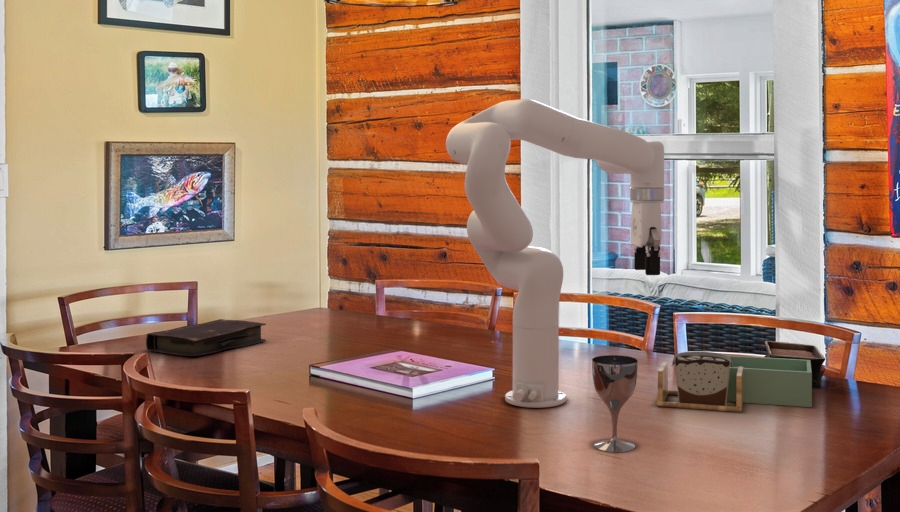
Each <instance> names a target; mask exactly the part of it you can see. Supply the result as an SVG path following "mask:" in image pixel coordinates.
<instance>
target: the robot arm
mask: <svg viewBox="0 0 900 512" xmlns="http://www.w3.org/2000/svg"><path fill="white" fill-rule="evenodd" d="M511 141H524V142H527V143H530V144H532V145H534V146H538V147H540V148H543V149H546V150H549V151H551V152H554V153H556V154H559V155H561V156H565V157H569V158H574V159H583V160H595V163H596V166H598V168H599V169H600V170H602V171H603V172H605V173H608V174H613V175H614V174H616V175H619V174H620V175H624V174H626V175H629V178H630V179H629V183H630V184H629V202H630V203H632V207H631V218H630V243H631V245H633V246H634V252H633V253H634V255H633V257H634V259H633V260H634V264H633V265H634V270H635V271H644V273H645V275H646V276H660V275H661V245H662V239H663V238H662V234H663V231H662V228H663V227H662V226H663V225H662V207H661V204H663V203H665V146H664V144H663V143H662V142H661V141H659V140H646V139H644V138H642V137H640V136H637V135H635V134H632V133H631V132H630V133H629V132H627V131H625V130H623V129H619V128H615V127H612V126H608V125H604V124H600V123H597V122H594V121H591V120H587V119H583V118H579V117H577V116H574V115H571V114H569V113H567V112H564V111H563V110H559V109H557V108H554V107H552V106H550V105H547V104H545V103H543V102H541V101H537V100H534V99H531V98H530V99H529V98H520V99H510V100H503V101H500V102H498V103H496V104H494V105H492V106H490V107H488V108H486V109H484V110H482V111H480V112H478V113H476V114H474V115H472V116H470V117H469V118H467V119H465V120H463V121H461V122H459V123H457V124H456V125H454V126H453V127H451V129H450V130H449V132H448V134H447V136H446V139H445V149H446V152H447V154H448V155H449V157H450V158H451V159H452V161H455V162H456V163H458V164H462V165H466V169H465V176H464V193H465V195H466V199H467V201H468V202H469V205H470V206H471V208H472V211H471V212H470V214H469V216H468V218H467V222H466V233H467V236H468V240H469V242H470V244H471V246H472V248H473V249H474V251H475V252H476V254H477V255H478V257H479V259H480V260H481V262H482V263H483V266H484V267H485V268H486V269H487V271H488V273H489V274H490V276H491V277H492V278H493V280H494V281H496V283H497V284H498V285H500V286H502V287H503V288H506V289H510V290H515V291H518V292H517V296H516V299H515V301H514V305H513V309H512V390H509V391H508V392H506V393H505V394H504V400H505V402H506V403H507V404H509V405H511V406H516V407H521V408H531V409H537V408H538V409H540V408H541V409H543V408H544V409H545V408H551V407H557V406H561V405H563V404H564V403H565V402H566V401H567V394H566V393H564V392H563V391H561V390H559V387H560V386H559V376H560V375H559V373H560V372H559V371H560V370H559V368H560V367H559V365H560V364H559V363H560V362H559V360H560V359H559V358H560V357H559V356H560V355H559V354H560V353H559V352H560V351H559V347H560V345H559V342H560V341H559V340H560V339H559V338H560V334H559V333H560V332H559V331H560V330H559V329H560V328H559V327H560V326H559V318H560V317H559V316H560V315H559V311H560V299H561V298H560V297H561V291H562V287H563V281H564V266H563V263H562V260H561V259H560V258H559V256H557V254H556V253H555V252H553V251H551V250H549V249H548V248H543V247H538V246H532V245H531V243H532V241H533V237H534V229H533V225H532V222H531V221H530V219H529V217H528V216H527V214H526V212H525V211H524V210H523V208H522V207H521V205H520V203H519V202H518V200H517V198H516V196H515V195H514V193H513V192H512V190H511V188H510V187H509V184H508V182H507V179H506V167H507V161H508V159H509V154H510V151H511V146H512V143H511ZM530 245H531V246H530Z"/></svg>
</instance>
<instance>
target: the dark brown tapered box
mask: <svg viewBox="0 0 900 512" xmlns="http://www.w3.org/2000/svg"><path fill="white" fill-rule="evenodd" d="M764 346H765V350H766V355H764V357H766V358H784V359H801V360H810V361H811V370H812V386H816V387H818V388H821V385H822V379H823V377H824V373H825V371H826V367H825V365H824V362H825V361H826V358H825V355H823V354H822V353H821V352H820V350H819V347H817V346H816V345H813V344H807V343H806V344H805V343H797V342H795V343H794V342H788V341H787V342H786V341H774V340H773V341H772V340H765V341H764Z"/></svg>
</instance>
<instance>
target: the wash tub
mask: <svg viewBox="0 0 900 512" xmlns="http://www.w3.org/2000/svg"><path fill="white" fill-rule="evenodd" d="M726 355H727V356H729V357H730V358H731V360H732V363H733V368H732V367H731V366H730V375H729V384H728V393H727V402H731V403H736V376H737V372H738V368H739V367H744V368H743V404H745V403H746V404H757V405H758V404H759V405H773V406H784V407H785V406H786V407H787V406H788V407H800V408H801V407H803V408H813V384H812V370H811V361H810V360H801V359H784V358H766V357H765V356H762V357H761V356H749V355H748V356H745V355H729V354H726Z"/></svg>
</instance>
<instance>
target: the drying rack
mask: <svg viewBox="0 0 900 512" xmlns="http://www.w3.org/2000/svg"><path fill="white" fill-rule="evenodd" d="M743 368H744V367H739V368H738V372H737V376H736V402H735V404H736V405H735V406H734V405H733V406H731V405H726V406H720V405H706V404H692V403H679V401H678V402H677V401H676V402H675V401H666V400H667V398H668V395H669V396H678V391H677V389H676V390H675V389H669V379H668V378H669V375H668V374H669V362H667V361H663V362H661V365H660V367H659V368H658V370H657V401H656V406H657V407H666V408H677V409H678V408H679V409H691V410H693V409H694V410H704V411H705V410H706V411H718V412H733V413H742V410H743V404H744V403H743Z"/></svg>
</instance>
